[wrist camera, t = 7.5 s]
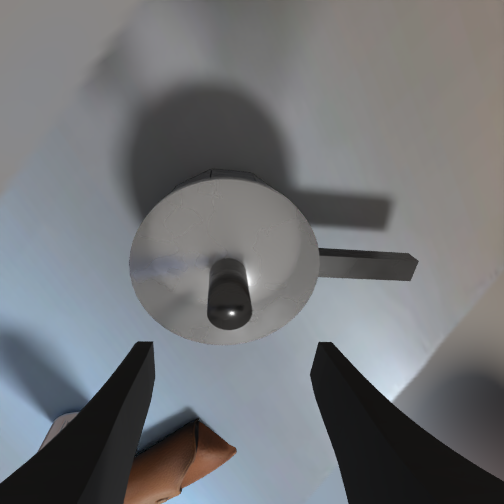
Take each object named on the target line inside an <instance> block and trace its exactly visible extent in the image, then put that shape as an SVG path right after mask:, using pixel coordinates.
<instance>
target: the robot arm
mask: <svg viewBox="0 0 504 504" xmlns="http://www.w3.org/2000/svg"><path fill="white" fill-rule="evenodd" d="M310 377H311V382H312V386H313V390H314V394H315V398H316V401H317V404H318V407H319V410H320V413H321V415H322V418H323V421H324V424H325V427H326V429H327V432H328V435H329V438H330V440H331V443H332V446H333V449H334V452H335V455H336V458H337V461H338V464H339V468H340V471H341V476H342V479H343V483H344V487H345V491H346V495H347V499H348V503H349V504H504V481H502V480H500V479H499V478H497V477H495V476H494V475H492V474H490V473H488V472H486V471H485V470H483V469H482V468H480V467H478V466H477V465H475V464H473V463H472V462H470V461H469V460H467V459H466V458H464V457H463V456H461V455H460V454H458V453H456V452H455V451H453V450H452V449H450V448H449V447H448V446H446V445H445V444H443V443H442V442H440V441H439V440H438V439H436V438H435V437H433V436H432V435H431V434H429V433H428V432H427V431H425V430H424V429H423V428H421V427H420V426H419V425H417V424H416V423H415V422H414V421H412V420H411V419H410V418H409V417H408V416H406V415H405V414H404V413H403V412H402V411H400V410H399V409H398V408H397V407H395V406H394V405H393V404H392V403H391V402H390V401H389V400H388V399H387V398H386V397H385V396H383V395H382V394H381V393H380V392H379V391H378V390H377V389H376V388H375V387H374V386H373V385H372V384H371V383H370V382H369V381H368V380H367V379H366V378H365V377H364V376H363V375H362V374H361V373H360V372H359V371H358V370H357V369H356V368H355V367H354V366H353V365H352V364H351V362H350V361H349V360H348V359H347V358H346V357H345V356H344V355H343V354H342V353H341V352H340V351H339V350H338V348H337V347H336V346H335V345H334V344H333V343H332V342H319V343H318V346H317V350H316V354H315V358H314V361H313V365H312V369H311V372H310ZM154 381H155V364H154V348H153V342H139V341H138V342H137V343H135V345H134V346H133V348H132V349H131V350H130V352H129V353H128V355H127V356H126V357H125V359H124V360H123V361H122V363H121V364H120V365H119V367H118V368H117V369H116V371H115V372H114V373H113V374H112V376H111V377H110V378H109V379H108V381H107V382H106V383H105V384H104V385H103V387H102V388H101V389H100V390H99V391H98V392H97V393H96V395H95V396H94V397H93V398H92V399H91V400H90V401H89V402H88V404H87V405H86V406H85V407H84V408H83V409H82V410H81V411H80V412H79V413H78V414H77V415H76V416H75V417H74V418H73V419H72V420H71V421H70V422H69V423H68V424H67V425H66V426H65V427H64V428H63V429H62V430H61V431H60V432H59V433H58V434H57V435H56V436H55V437H54V438H53V439H52V440H51V441H50V442H48V443H47V444H46V445H45V446H44V447H43V448H42V449H41V450H40V451H39V452H37V453H36V454H35V455H34V456H33V457H32V458H31V459H29V460H28V461H27V462H26V463H25V464H23V465H22V466H21V467H20V468H19V469H17V470H16V471H15V472H14V473H13V474H11V475H10V476H9V477H8V478H6V479H5V480H4V481H3V482H2V483H0V504H123V503H124V499H125V494H126V489H127V484H128V480H129V475H130V471H131V467H132V463H133V460H134V456H135V453H136V450H137V446H138V443H139V440H140V436H141V433H142V429H143V426H144V423H145V419H146V416H147V413H148V409H149V406H150V402H151V397H152V392H153V387H154Z"/></svg>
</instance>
